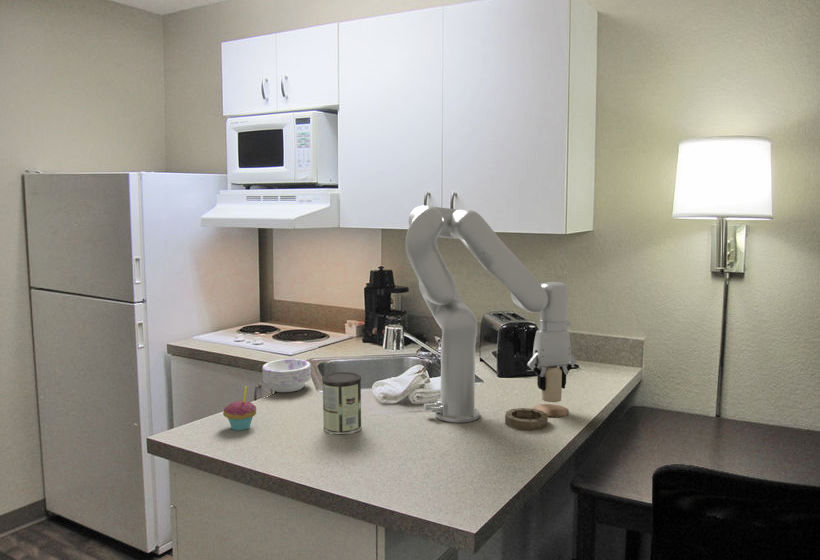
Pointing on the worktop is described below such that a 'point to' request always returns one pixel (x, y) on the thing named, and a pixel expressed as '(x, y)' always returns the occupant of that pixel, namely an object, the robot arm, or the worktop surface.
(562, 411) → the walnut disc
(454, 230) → the robot arm
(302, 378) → the paper bowls
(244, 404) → the cupcake
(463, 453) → the worktop surface
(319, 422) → the worktop surface
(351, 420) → the coffee can
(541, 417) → the ring
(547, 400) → the candle
